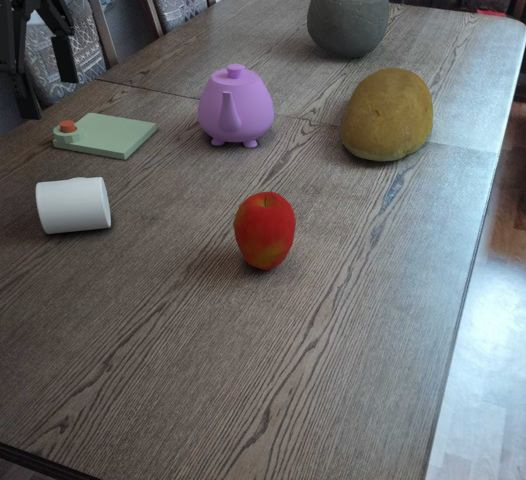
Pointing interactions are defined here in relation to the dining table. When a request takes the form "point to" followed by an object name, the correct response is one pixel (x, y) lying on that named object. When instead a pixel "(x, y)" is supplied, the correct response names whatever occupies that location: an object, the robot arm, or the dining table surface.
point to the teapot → (235, 106)
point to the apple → (265, 229)
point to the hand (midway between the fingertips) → (52, 99)
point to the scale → (105, 135)
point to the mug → (73, 205)
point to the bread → (388, 115)
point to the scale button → (67, 126)
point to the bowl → (347, 25)
